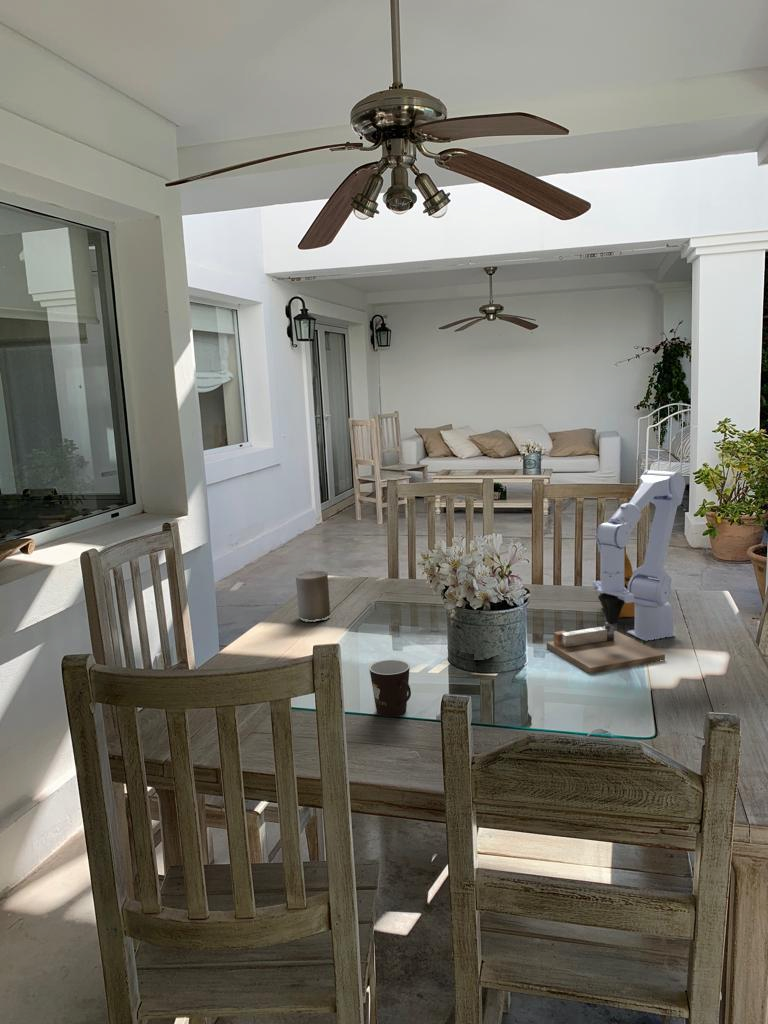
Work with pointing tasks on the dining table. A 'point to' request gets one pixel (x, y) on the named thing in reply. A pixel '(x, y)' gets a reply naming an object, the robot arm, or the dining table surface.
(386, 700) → the coffee mug
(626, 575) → the coffee package
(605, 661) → the brown wooden board
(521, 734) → the dining table surface
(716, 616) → the dining table surface
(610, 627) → the bar
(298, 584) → the pillar candle
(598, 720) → the dining table surface
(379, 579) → the dining table surface
